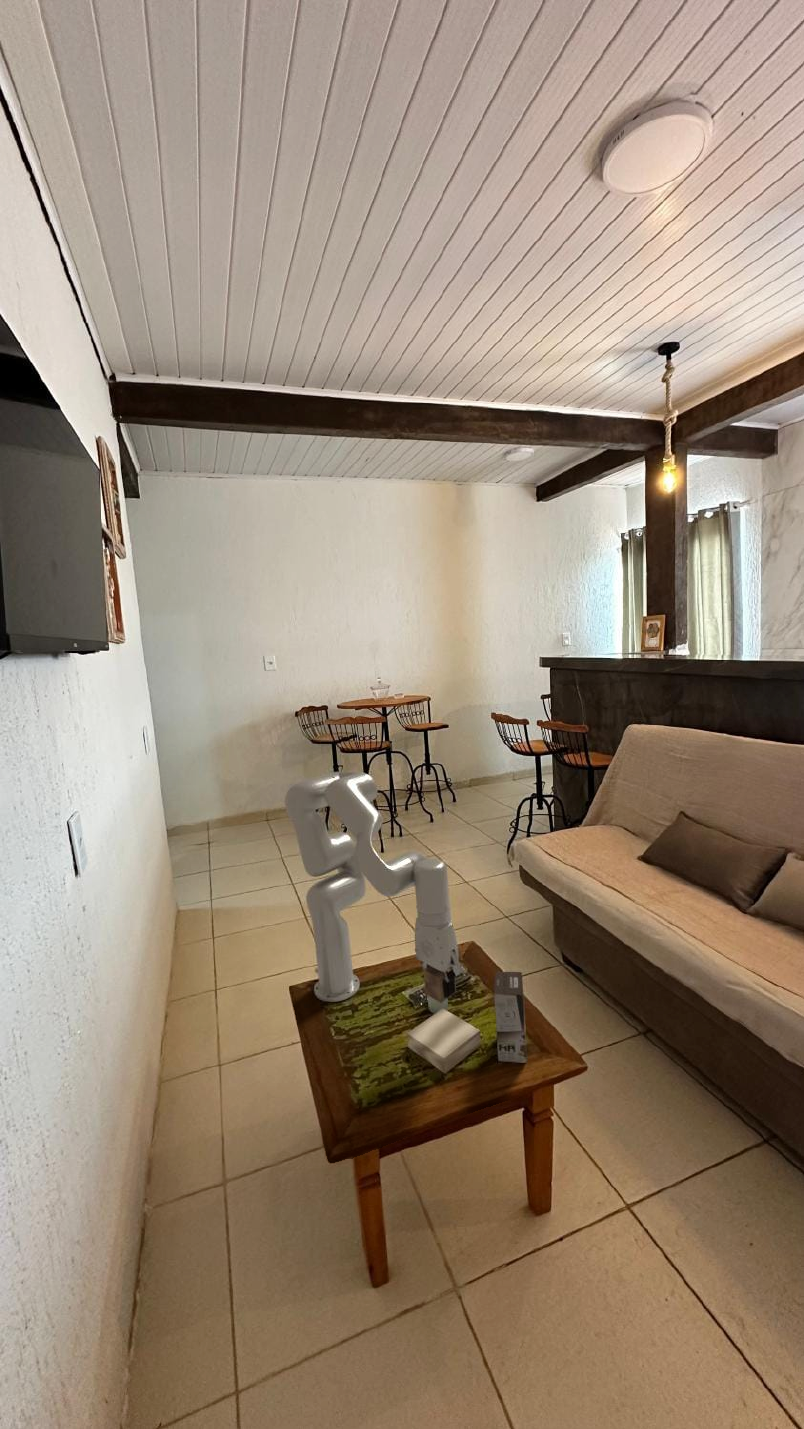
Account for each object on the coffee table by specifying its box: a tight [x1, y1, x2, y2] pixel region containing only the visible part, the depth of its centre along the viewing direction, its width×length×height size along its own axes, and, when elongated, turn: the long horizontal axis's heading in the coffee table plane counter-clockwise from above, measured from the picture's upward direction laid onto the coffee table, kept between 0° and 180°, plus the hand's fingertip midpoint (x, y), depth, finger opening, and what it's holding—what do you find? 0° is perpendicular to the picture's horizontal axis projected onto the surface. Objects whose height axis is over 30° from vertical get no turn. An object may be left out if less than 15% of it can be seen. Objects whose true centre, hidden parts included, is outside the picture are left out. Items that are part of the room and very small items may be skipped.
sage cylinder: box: [427, 995, 449, 1014], centre depth 144 cm, size 5×5×6 cm
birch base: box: [406, 1009, 482, 1074], centre depth 130 cm, size 12×12×4 cm
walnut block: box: [422, 966, 457, 1003], centre depth 128 cm, size 5×5×6 cm
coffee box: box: [493, 971, 527, 1064], centre depth 127 cm, size 9×6×16 cm
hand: (440, 989), depth 128 cm, fingers closed on walnut block, 5 cm apart
